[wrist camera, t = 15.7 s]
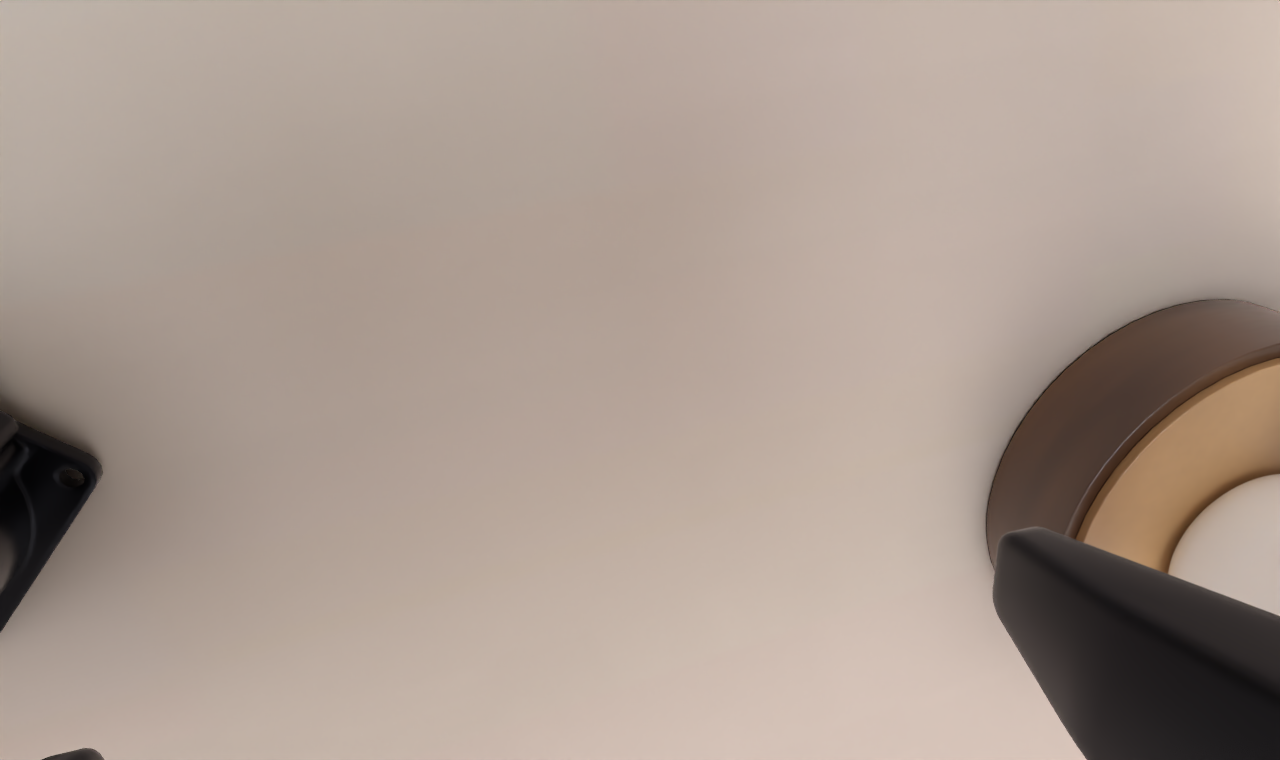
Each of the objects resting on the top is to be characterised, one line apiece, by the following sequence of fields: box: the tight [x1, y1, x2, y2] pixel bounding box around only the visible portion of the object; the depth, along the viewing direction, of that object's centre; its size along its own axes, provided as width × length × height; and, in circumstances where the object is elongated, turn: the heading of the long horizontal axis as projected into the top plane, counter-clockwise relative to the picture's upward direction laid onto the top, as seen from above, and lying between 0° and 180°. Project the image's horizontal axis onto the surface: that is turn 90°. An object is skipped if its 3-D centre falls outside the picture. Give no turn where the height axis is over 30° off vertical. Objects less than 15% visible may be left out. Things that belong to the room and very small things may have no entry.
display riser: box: [987, 300, 1280, 574], centre depth 26 cm, size 12×12×4 cm
